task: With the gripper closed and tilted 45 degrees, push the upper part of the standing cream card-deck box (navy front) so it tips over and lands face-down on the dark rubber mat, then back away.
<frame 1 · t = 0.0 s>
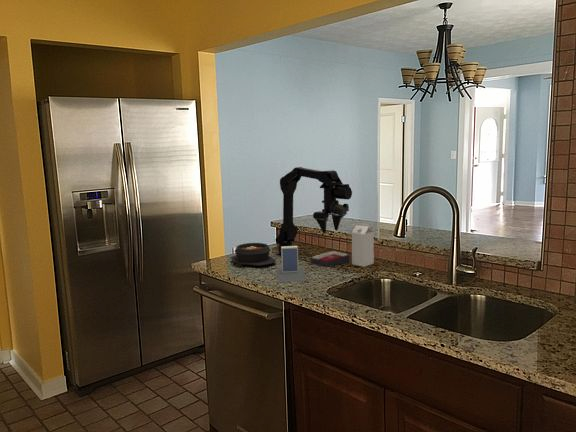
hand: (330, 231, 222), 15 cm above the worktop, tool pointing down, fingers open, 9 cm apart
calculator: (330, 263, 224), on the worktop
deck box: (290, 271, 209), resting on mat
mat: (290, 275, 204), on the worktop
casserole: (253, 263, 227), on the worktop
milk carton: (362, 264, 220), on the worktop
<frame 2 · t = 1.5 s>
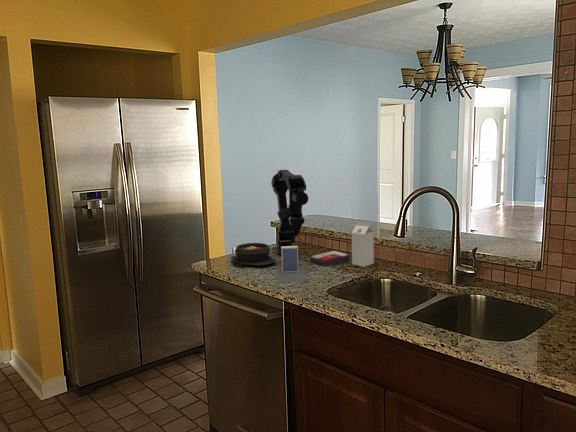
hand: (296, 235, 223), 13 cm above the worktop, tool pointing down, fingers closed
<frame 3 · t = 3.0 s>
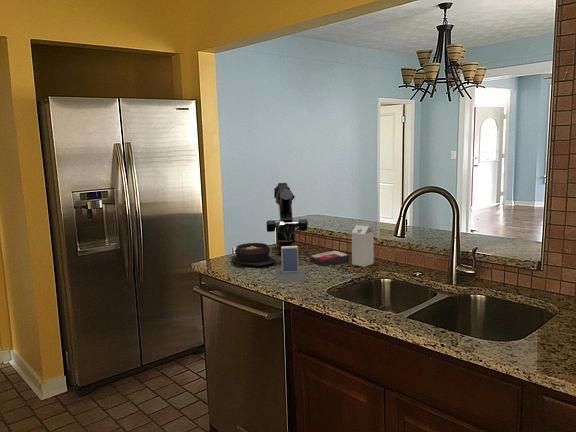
hand: (288, 240, 215), 12 cm above the worktop, tool tilted 45°, fingers closed
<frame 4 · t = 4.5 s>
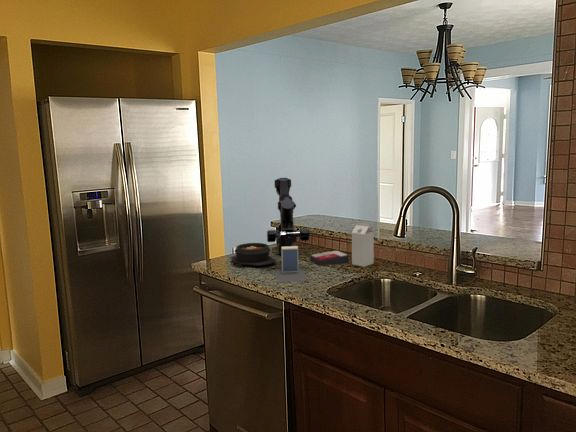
hand: (289, 251, 208), 9 cm above the worktop, tool tilted 45°, fingers closed
deck box: (290, 271, 209), point 1 cm above the worktop, tilted 8°, touching mat
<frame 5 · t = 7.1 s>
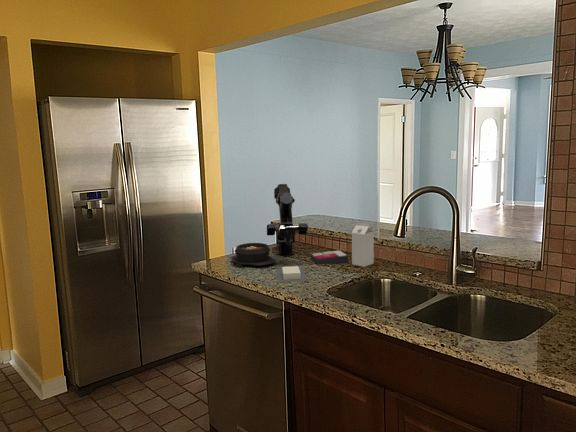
hand: (288, 244, 216), 10 cm above the worktop, tool tilted 45°, fingers closed
deck box: (290, 269, 207), point 2 cm above the worktop, tilted 90°, touching mat
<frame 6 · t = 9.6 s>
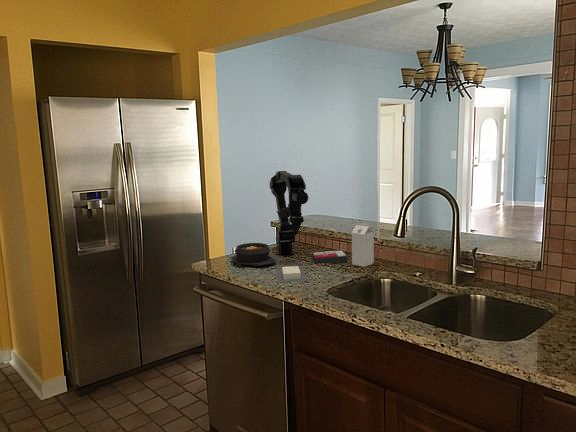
hand: (295, 234, 226), 13 cm above the worktop, tool pointing down, fingers closed
at the end: deck box tilted 90°; deck box 3.5 cm from the mat (horizontally); deck box touching mat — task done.
